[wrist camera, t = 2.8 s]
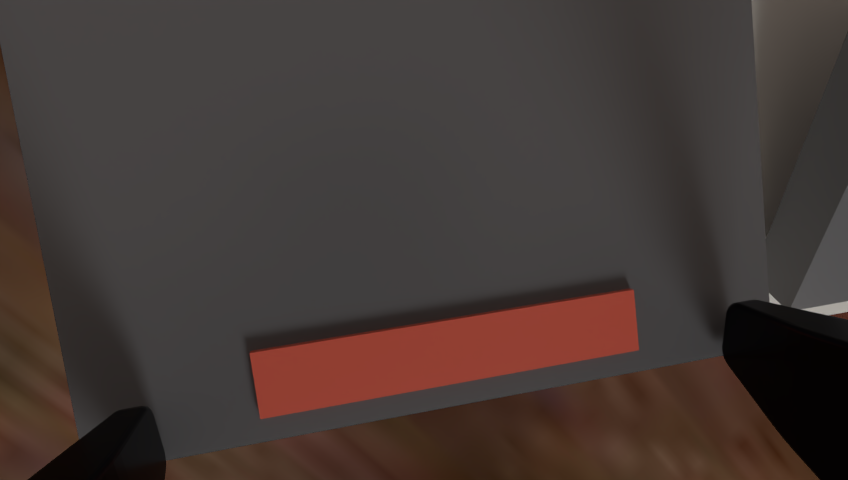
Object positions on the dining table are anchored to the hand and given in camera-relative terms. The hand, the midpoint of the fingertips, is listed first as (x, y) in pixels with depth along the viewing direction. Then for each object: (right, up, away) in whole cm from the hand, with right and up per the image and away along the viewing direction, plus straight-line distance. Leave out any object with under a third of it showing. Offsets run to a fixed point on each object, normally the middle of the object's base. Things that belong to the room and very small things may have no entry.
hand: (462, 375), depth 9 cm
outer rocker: (-1, +3, +1) cm, 3 cm away
